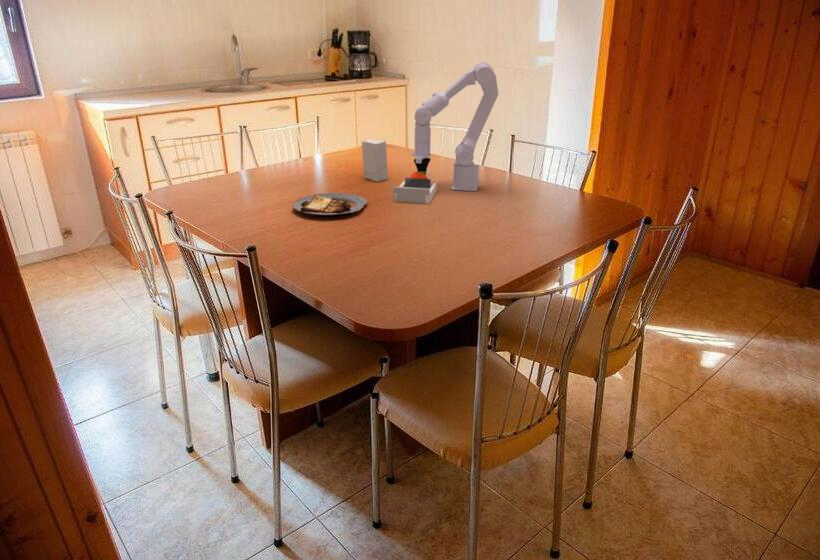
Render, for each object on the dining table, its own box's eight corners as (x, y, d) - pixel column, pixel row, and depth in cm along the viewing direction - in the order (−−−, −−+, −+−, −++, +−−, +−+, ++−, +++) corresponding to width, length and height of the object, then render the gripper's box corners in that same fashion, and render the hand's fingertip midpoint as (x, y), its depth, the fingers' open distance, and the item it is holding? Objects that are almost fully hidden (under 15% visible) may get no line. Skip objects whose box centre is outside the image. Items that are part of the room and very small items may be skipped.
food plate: (354, 222, 183) (353, 211, 181) (283, 218, 187) (282, 207, 185) (373, 201, 205) (373, 191, 204) (309, 198, 209) (309, 188, 208)
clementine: (431, 187, 218) (431, 169, 215) (430, 193, 212) (430, 173, 209) (409, 187, 219) (409, 168, 216) (408, 192, 213) (408, 173, 210)
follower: (430, 193, 212) (430, 179, 209) (429, 194, 211) (430, 179, 208) (405, 191, 213) (405, 177, 211) (404, 192, 212) (404, 178, 210)
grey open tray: (436, 190, 215) (437, 177, 213) (428, 203, 201) (429, 189, 199) (403, 188, 217) (403, 175, 215) (393, 201, 203) (393, 187, 201)
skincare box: (388, 179, 229) (387, 141, 223) (376, 182, 225) (375, 143, 219) (374, 175, 234) (373, 138, 228) (362, 178, 231) (361, 140, 224)
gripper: (415, 136, 219) (415, 172, 225) (407, 144, 206) (407, 182, 212) (434, 137, 218) (433, 173, 224) (427, 145, 205) (426, 183, 211)
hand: (422, 178), depth 218 cm, fingers closed
